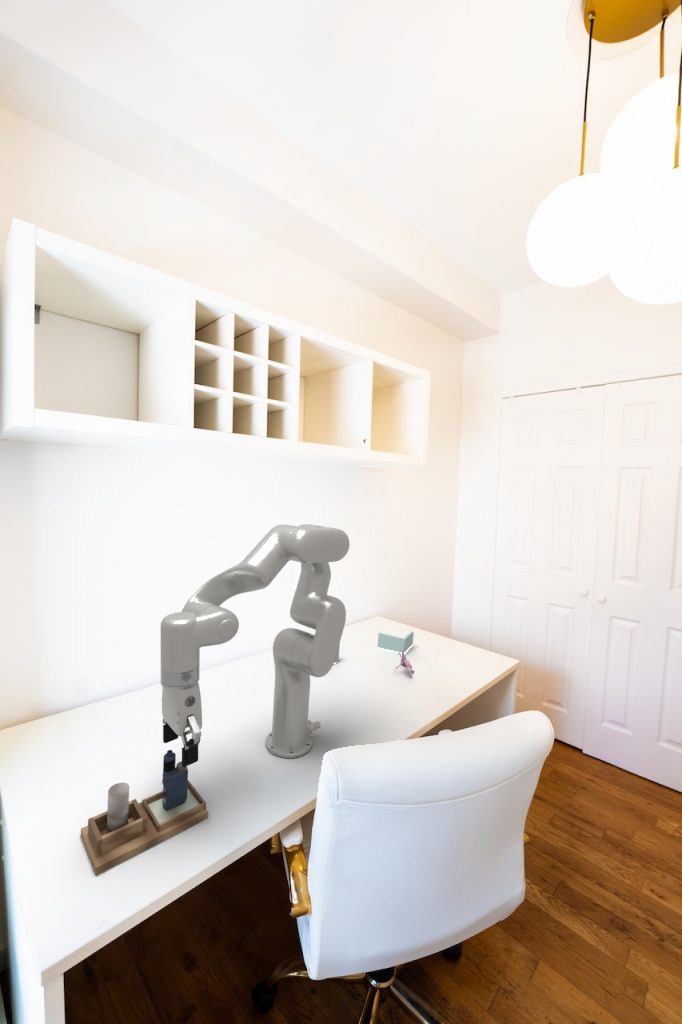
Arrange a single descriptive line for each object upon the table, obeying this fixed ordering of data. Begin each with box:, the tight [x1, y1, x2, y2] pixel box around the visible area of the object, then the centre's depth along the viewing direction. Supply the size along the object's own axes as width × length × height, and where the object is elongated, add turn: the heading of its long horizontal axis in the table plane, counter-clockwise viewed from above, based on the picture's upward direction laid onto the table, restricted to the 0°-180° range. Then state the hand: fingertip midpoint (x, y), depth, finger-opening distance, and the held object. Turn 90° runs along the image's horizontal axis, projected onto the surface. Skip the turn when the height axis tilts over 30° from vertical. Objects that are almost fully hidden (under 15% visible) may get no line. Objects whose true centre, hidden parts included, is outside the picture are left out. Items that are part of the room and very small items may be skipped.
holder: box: [80, 779, 209, 876], centre depth 87 cm, size 21×11×10 cm, turn 133°
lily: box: [395, 645, 413, 673], centre depth 167 cm, size 12×12×10 cm
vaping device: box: [161, 749, 189, 810], centre depth 91 cm, size 3×5×12 cm, turn 132°
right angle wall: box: [377, 630, 415, 652], centre depth 191 cm, size 12×12×8 cm
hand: (180, 751), depth 91 cm, fingers open, 9 cm apart
